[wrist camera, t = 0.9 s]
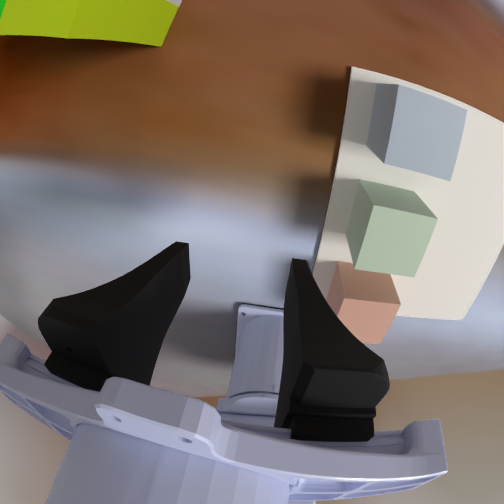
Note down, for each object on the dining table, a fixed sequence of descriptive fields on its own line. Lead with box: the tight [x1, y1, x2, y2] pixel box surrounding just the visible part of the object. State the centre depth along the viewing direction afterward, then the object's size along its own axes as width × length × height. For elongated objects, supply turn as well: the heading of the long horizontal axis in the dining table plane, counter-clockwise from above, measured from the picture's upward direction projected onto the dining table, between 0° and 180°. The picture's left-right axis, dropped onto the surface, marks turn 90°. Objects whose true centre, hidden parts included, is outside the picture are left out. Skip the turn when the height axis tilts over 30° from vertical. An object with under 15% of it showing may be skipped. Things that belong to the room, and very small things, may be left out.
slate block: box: [366, 83, 467, 181], centre depth 14 cm, size 4×4×4 cm
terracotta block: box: [326, 261, 401, 344], centre depth 22 cm, size 4×4×4 cm
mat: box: [312, 67, 504, 320], centre depth 20 cm, size 20×18×1 cm
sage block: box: [346, 179, 438, 277], centre depth 18 cm, size 4×4×4 cm
